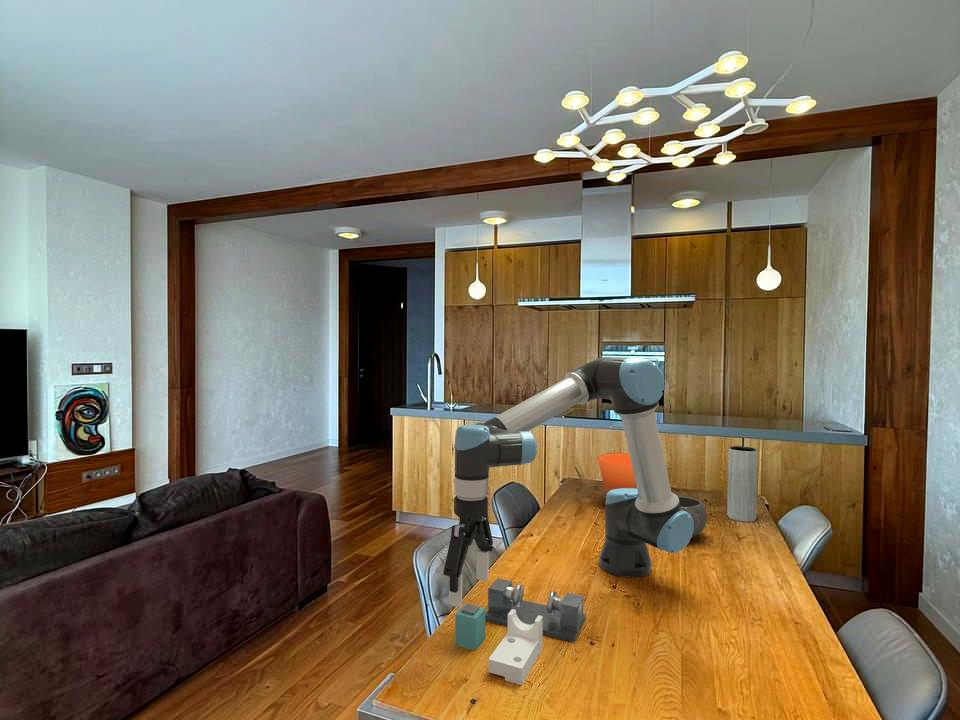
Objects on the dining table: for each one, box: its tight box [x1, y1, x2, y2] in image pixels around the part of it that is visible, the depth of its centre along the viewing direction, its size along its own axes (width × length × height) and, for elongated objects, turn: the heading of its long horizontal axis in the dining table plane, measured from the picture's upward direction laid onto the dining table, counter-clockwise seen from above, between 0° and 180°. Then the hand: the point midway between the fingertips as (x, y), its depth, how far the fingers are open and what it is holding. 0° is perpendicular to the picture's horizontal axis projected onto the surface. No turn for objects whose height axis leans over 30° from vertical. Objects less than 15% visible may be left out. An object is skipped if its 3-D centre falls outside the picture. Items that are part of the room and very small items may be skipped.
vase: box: [726, 445, 758, 523], centre depth 198 cm, size 10×10×27 cm
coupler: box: [454, 603, 486, 652], centre depth 113 cm, size 5×5×8 cm
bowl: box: [677, 495, 708, 539], centre depth 179 cm, size 18×18×13 cm
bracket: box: [487, 609, 543, 686], centre depth 106 cm, size 13×7×8 cm, turn 156°
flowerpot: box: [597, 452, 637, 496], centre depth 212 cm, size 25×25×20 cm
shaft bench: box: [485, 577, 587, 643], centre depth 123 cm, size 22×11×8 cm, turn 66°
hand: (469, 591), depth 113 cm, fingers open, 13 cm apart
